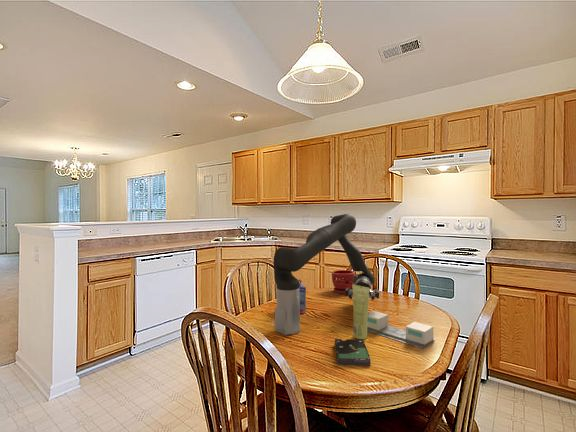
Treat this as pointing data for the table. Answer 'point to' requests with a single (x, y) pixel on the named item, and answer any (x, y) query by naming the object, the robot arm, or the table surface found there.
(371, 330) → the rail plate
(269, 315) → the table surface
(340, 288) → the plant pot
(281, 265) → the robot arm
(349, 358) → the disk drive
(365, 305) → the tube
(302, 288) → the ink cartridge box
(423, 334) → the mounted blocks
